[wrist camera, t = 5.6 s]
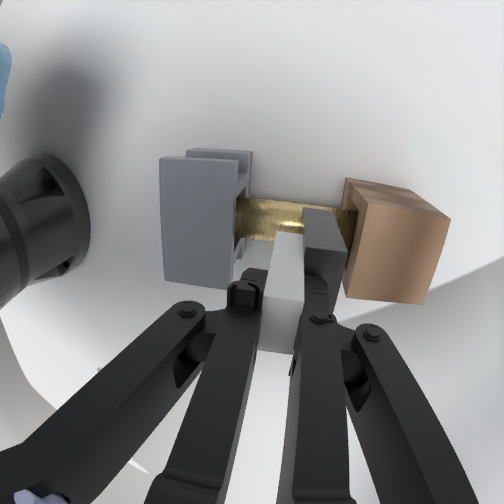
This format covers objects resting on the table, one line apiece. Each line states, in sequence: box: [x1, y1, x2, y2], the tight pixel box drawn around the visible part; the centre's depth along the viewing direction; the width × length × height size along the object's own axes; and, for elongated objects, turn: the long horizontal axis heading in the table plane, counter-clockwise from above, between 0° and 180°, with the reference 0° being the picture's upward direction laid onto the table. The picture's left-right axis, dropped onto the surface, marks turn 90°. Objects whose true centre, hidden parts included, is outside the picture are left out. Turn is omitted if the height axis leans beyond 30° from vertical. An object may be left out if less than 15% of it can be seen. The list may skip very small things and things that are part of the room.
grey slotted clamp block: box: [159, 148, 252, 290], centre depth 22 cm, size 5×9×7 cm, turn 176°
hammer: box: [234, 197, 359, 313], centre depth 18 cm, size 12×4×10 cm, turn 86°
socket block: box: [341, 178, 451, 305], centre depth 20 cm, size 6×6×8 cm
